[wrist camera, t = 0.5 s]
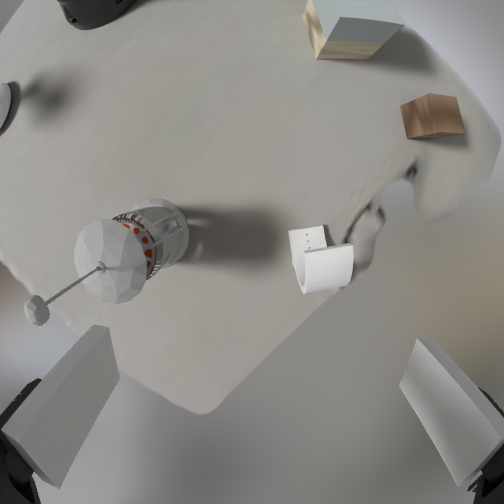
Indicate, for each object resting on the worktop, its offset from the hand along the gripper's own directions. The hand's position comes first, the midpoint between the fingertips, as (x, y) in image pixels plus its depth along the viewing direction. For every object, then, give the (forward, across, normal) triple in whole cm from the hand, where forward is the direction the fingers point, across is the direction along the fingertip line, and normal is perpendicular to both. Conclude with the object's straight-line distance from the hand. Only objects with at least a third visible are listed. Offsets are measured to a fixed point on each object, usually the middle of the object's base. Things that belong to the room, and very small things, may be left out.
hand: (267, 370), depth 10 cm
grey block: (+21, +10, +30) cm, 38 cm away
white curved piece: (+27, +7, -1) cm, 28 cm away
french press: (+27, -13, 0) cm, 30 cm away
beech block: (+27, +10, +30) cm, 42 cm away
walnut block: (+27, +23, +19) cm, 40 cm away
